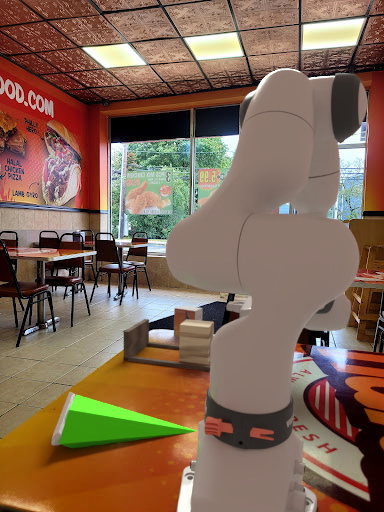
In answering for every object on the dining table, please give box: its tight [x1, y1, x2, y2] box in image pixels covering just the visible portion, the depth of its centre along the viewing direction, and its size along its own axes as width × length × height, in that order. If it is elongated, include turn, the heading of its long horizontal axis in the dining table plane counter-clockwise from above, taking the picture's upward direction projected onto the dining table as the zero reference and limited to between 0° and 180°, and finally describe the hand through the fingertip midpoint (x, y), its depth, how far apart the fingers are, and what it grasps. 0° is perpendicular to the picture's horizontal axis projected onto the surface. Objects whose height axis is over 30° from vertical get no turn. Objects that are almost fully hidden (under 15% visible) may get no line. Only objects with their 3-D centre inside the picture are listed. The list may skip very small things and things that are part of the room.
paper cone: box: [51, 391, 197, 449], centre depth 64 cm, size 11×5×25 cm
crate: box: [178, 319, 215, 366], centre depth 98 cm, size 6×8×10 cm
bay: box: [123, 318, 210, 372], centre depth 100 cm, size 14×24×9 cm, turn 74°
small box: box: [173, 305, 203, 338], centre depth 119 cm, size 8×6×10 cm
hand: (227, 305), depth 95 cm, fingers closed
